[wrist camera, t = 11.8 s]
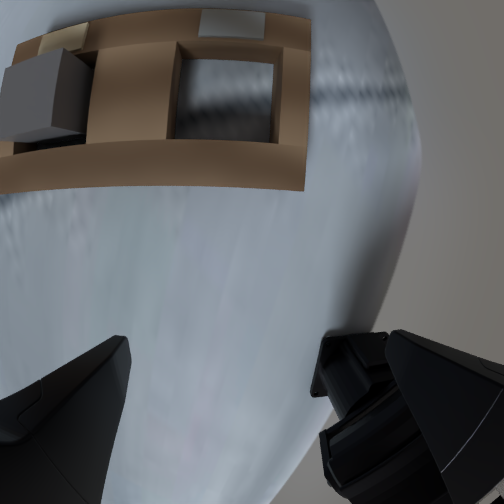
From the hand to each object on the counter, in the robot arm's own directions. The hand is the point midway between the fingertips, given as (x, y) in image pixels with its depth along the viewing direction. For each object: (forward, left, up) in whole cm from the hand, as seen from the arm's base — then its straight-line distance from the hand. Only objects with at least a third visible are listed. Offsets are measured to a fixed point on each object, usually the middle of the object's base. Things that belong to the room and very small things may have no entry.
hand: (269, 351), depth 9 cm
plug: (+10, +12, -11) cm, 19 cm away
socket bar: (+10, +7, -11) cm, 16 cm away
